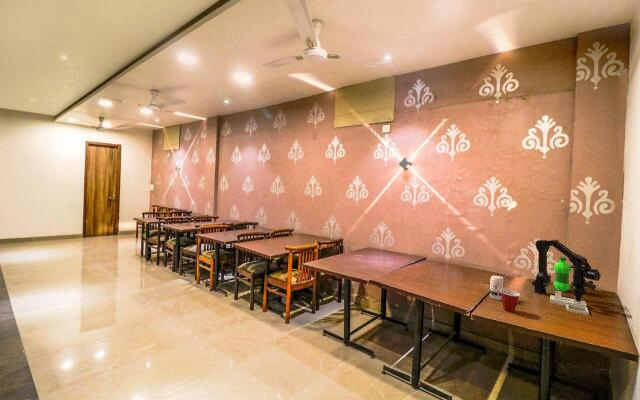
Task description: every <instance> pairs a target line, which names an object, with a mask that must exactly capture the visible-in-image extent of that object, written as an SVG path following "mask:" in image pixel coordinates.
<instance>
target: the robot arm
mask: <svg viewBox="0 0 640 400" xmlns="http://www.w3.org/2000/svg"><path fill="white" fill-rule="evenodd" d="M550 247H553V248H555V250H557V251H558V252H560V253H561V254H563V255H565V256H564V257H566V258H567V259H568V260H569V262H570V263H571V264H572V265H569V266H570V268H571V269H572V271H573V272H572V281H570V288H571V289H572V292H573V295H574V298H575V297H576V300H577V302H580V300H582V297H583V295H585V294H586V295H587V289H589V290H591V291H595V289H596V288H597V285H596V284H594V281H596V282H599V281H600V279H601V276H602V274H600V272H599V269H596V268H595V269H594V268H592V267H591V265H590V264H589V262H588V259H587V258H586V257H584V256H583V255H580V254H578V253H575V252H574V251H572V250H571V249H570V248H568V247H567V246H566V245H564V244H563V243H561V242H560V240H558V239H551V240H547V239H539V240H538V239H537V240H536V241H535V248H536V250H537V252H538V271H537V274H536V276H535V279H534V280H533V281H532V282H531V284H532V286H534V289H533V290H534V291H533V293H534V294H537V295H544V296H545V295H546V296H547V288H546V287H548V286H549V284H551V282H552V280H551V277H552V276H551V275H549V273H548V251H549V250H550ZM586 279H588V280H586ZM586 288H587V289H586Z"/></svg>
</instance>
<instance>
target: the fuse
mask: <svg viewBox="0 0 640 400" xmlns="http://www.w3.org/2000/svg"><path fill="white" fill-rule="evenodd" d="M554 296H555V299H560V300H561V297H562V291H559V290H555V294H554Z"/></svg>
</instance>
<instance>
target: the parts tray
mask: <svg viewBox="0 0 640 400" xmlns="http://www.w3.org/2000/svg"><path fill="white" fill-rule="evenodd" d="M565 308H566V311H567V312H571V313H575V314H582V315H585V316H589V315H590V311H589V310H588V307H581V306H576V305H570V304H566V306H565Z"/></svg>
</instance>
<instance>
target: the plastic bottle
mask: <svg viewBox="0 0 640 400" xmlns="http://www.w3.org/2000/svg"><path fill="white" fill-rule="evenodd" d="M558 258H559V261H558V262H557V263H555V264H554V266H553V270H554V271H555V281H554V282H553V286H554V288H555V289H556V291H560V292H564V293H565V292H566V291H569V290H570V288H571V284H569V280H570V274H571V273H572V268H570V266H571V265H569V264H568V263H567V261H568V260H567V259H568V257H566V256H564V257H563V256H560V257H558Z"/></svg>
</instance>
